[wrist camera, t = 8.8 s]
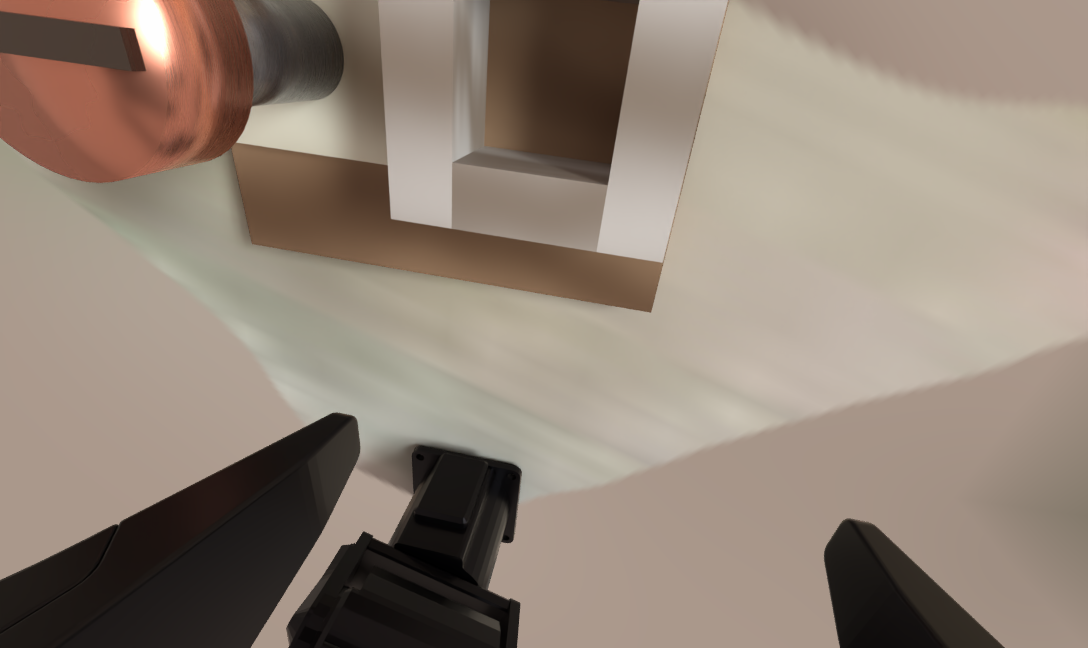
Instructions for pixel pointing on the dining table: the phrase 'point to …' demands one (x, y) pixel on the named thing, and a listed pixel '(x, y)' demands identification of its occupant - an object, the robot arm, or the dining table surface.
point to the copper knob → (153, 78)
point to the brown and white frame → (492, 142)
